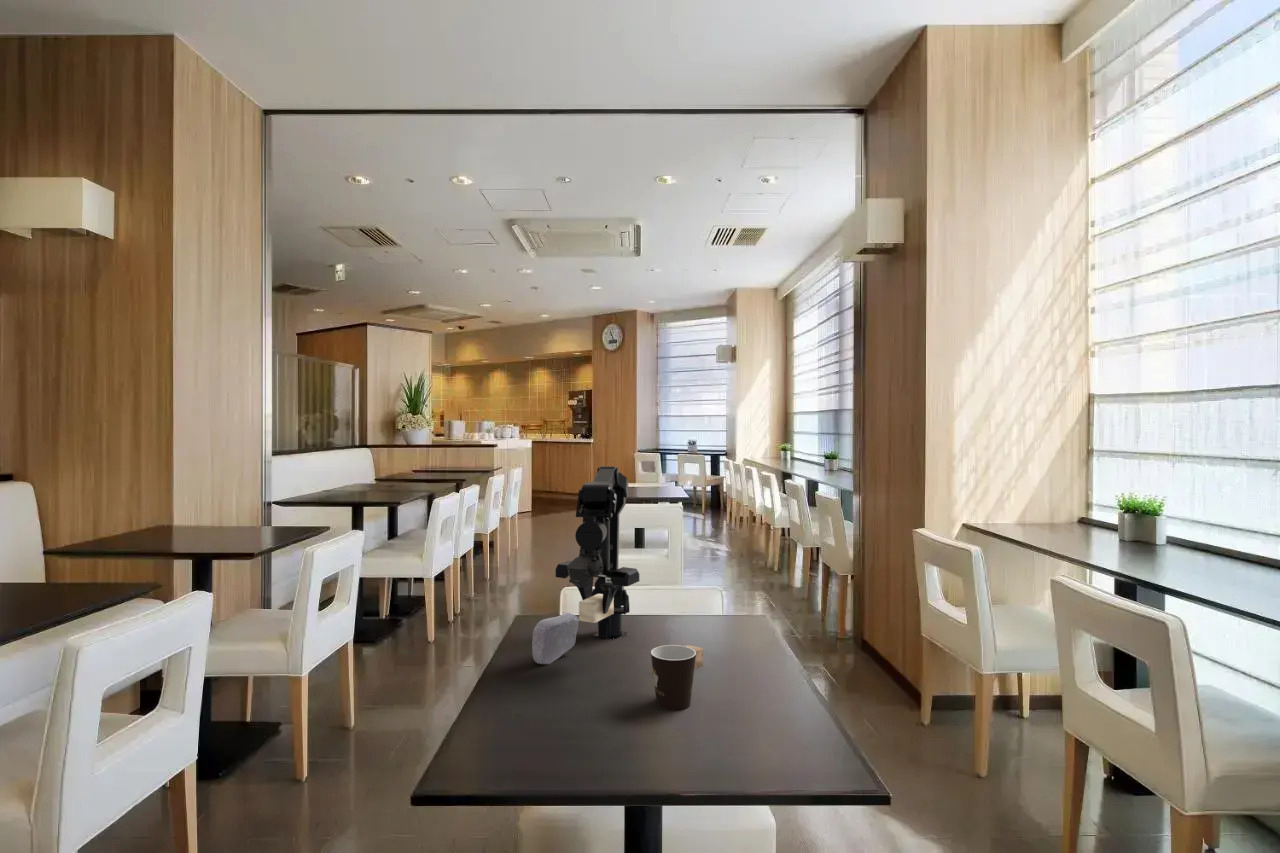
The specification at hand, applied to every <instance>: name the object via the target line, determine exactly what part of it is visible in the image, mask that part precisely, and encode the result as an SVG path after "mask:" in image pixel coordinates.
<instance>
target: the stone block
mask: <svg viewBox="0 0 1280 853" xmlns="http://www.w3.org/2000/svg"><path fill="white" fill-rule="evenodd" d="M579 623H580V621H579V616H577V615H576V614H574V613H570V612H563V613H562V614H560V615H558V616H554V617H548V618H544V619H541V620H540V621H538V622H537V623H536V625H535V627H534V629H533V632H532V642H531V647H532V654H531V655H532V659H533V661H534V662H535V663H537V665H550V664H552V663H554V662H555V661H557V660H558V659H560V658H561V657H562V656H563V655H564V654H565V653H567V652H568V651H569V650H570V649H572V648H573V647H574V646H575V643H576V638H577V633H578V629H579Z"/></svg>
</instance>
